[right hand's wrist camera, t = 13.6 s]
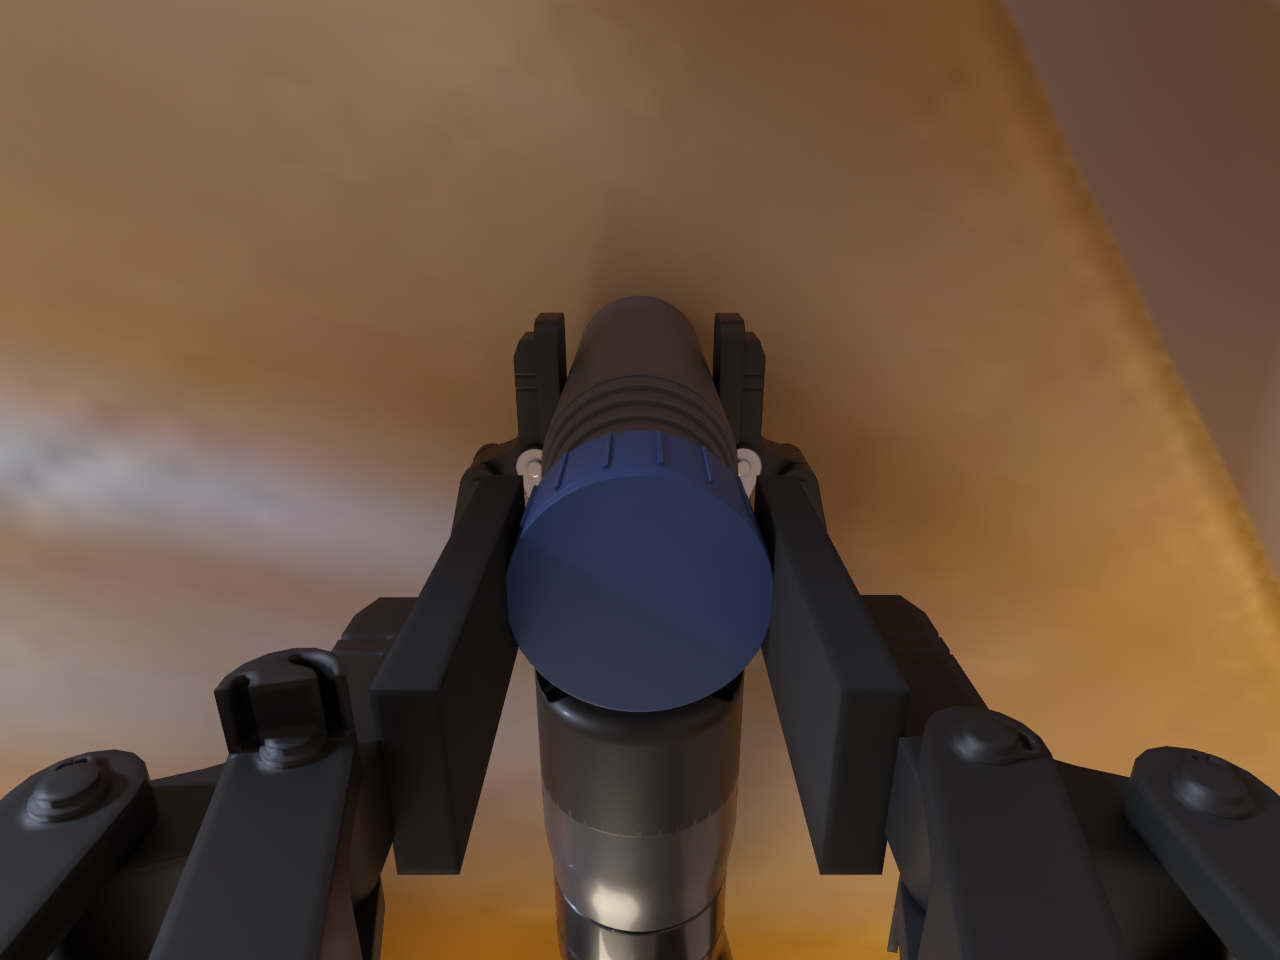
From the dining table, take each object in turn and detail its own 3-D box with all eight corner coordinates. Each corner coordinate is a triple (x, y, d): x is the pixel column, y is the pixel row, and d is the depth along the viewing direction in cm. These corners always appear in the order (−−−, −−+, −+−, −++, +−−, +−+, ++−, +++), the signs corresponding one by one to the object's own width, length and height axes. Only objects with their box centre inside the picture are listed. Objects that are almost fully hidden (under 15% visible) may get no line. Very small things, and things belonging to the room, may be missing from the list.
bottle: (643, 437, 31) (648, 748, 14) (554, 361, 30) (442, 597, 13) (724, 353, 30) (838, 581, 13) (635, 269, 29) (629, 397, 12)
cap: (646, 678, 16) (647, 755, 14) (474, 547, 15) (446, 609, 13) (805, 533, 15) (834, 593, 13) (631, 378, 14) (630, 414, 11)
